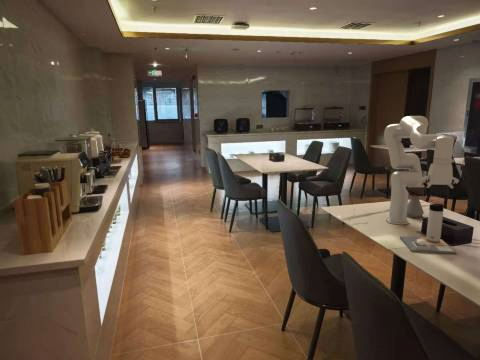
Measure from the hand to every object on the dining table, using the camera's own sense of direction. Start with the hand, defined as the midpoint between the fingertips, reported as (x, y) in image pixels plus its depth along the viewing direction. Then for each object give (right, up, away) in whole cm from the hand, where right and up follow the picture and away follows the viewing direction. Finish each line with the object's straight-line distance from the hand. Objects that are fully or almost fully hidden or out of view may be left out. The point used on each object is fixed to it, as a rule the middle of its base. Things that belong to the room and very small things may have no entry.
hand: (437, 195), depth 168 cm
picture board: (-5, -25, +2) cm, 26 cm away
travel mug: (0, -24, +5) cm, 24 cm away
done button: (-10, -24, -3) cm, 26 cm away
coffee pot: (+13, -15, +54) cm, 57 cm away
